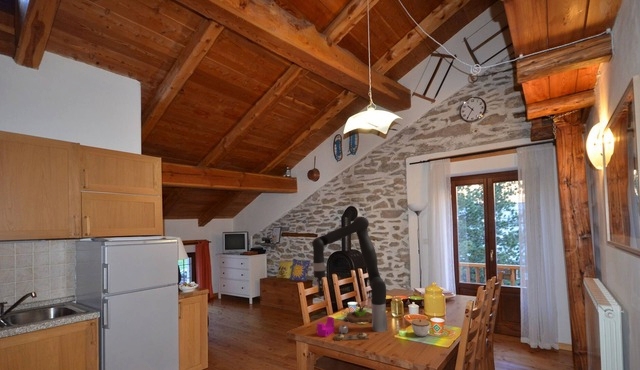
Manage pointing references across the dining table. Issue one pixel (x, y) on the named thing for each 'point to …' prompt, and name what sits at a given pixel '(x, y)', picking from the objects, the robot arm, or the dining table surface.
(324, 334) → the toy block
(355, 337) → the gear board
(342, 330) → the idler gear
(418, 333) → the lidded jar
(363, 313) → the plant
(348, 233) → the robot arm
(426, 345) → the dining table surface
